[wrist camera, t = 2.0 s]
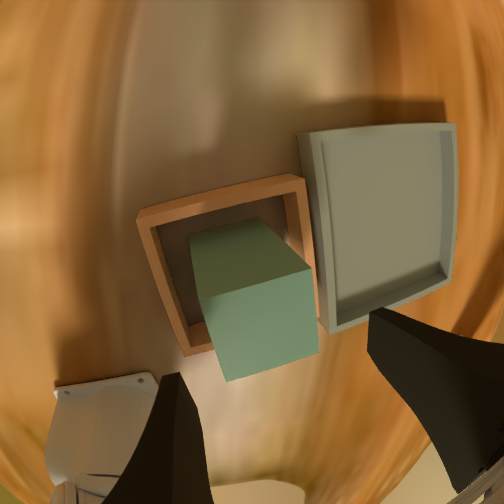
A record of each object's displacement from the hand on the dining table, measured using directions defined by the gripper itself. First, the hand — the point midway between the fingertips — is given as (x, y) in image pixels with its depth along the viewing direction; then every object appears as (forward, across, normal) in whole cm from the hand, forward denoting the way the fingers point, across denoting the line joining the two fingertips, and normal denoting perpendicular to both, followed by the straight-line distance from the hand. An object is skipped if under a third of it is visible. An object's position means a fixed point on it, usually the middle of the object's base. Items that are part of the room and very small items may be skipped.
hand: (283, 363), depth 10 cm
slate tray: (+10, -12, 0) cm, 16 cm away
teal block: (+10, 0, 0) cm, 10 cm away
